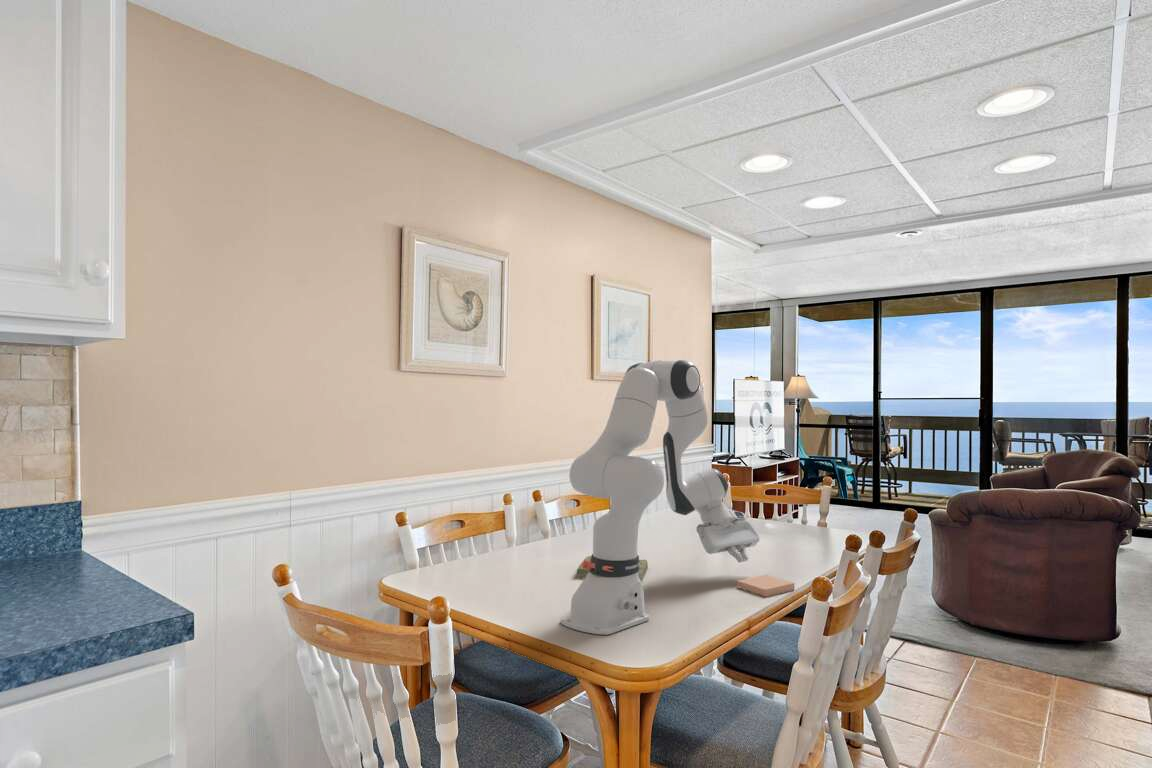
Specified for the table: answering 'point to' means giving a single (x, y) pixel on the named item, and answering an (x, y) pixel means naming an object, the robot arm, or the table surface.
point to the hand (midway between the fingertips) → (743, 560)
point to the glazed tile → (766, 585)
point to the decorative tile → (583, 572)
